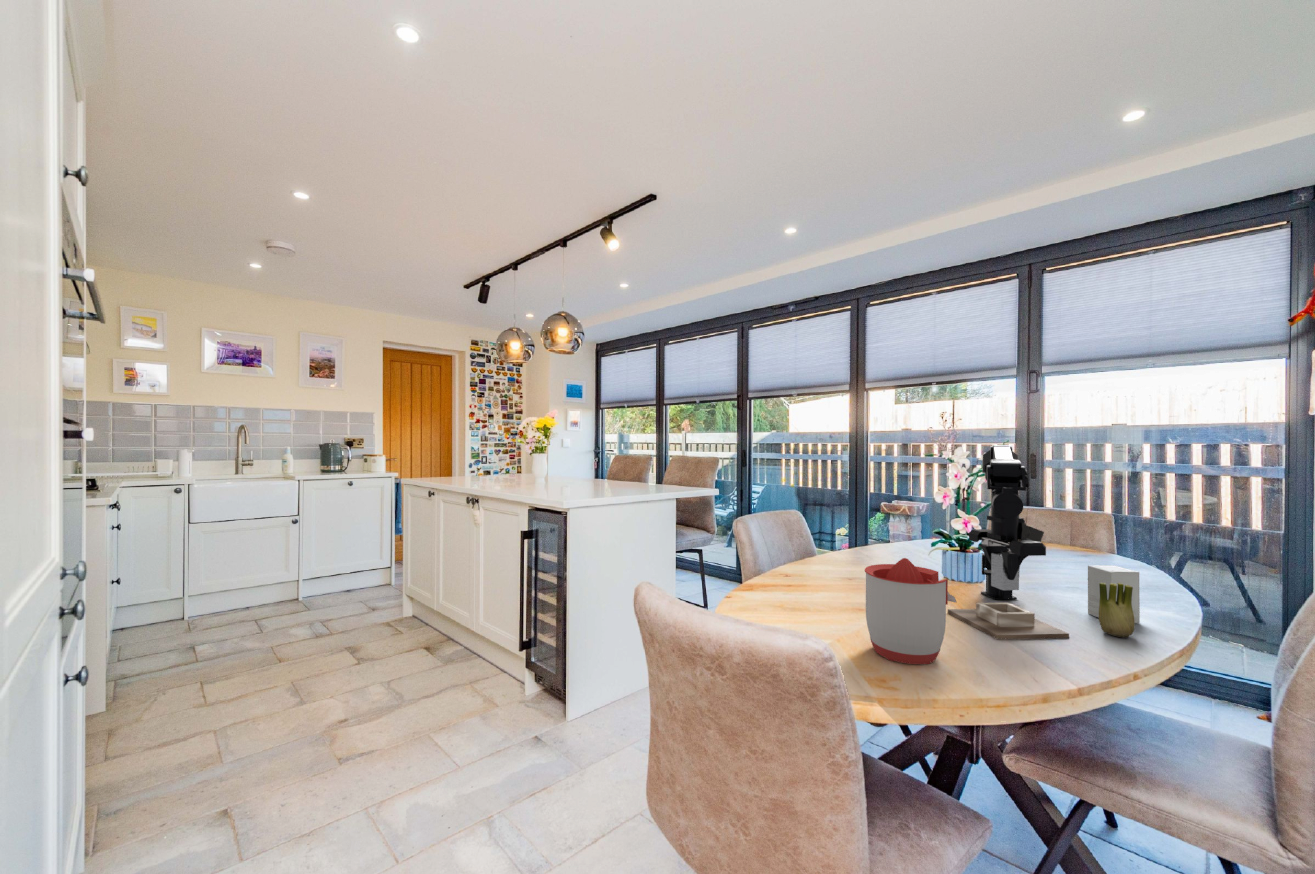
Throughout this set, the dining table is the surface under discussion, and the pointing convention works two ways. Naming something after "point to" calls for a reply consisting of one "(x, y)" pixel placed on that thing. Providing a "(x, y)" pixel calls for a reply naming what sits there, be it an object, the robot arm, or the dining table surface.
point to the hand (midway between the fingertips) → (1004, 577)
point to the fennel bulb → (1116, 610)
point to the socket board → (1007, 622)
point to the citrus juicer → (906, 611)
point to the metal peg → (1002, 574)
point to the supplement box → (1108, 577)
